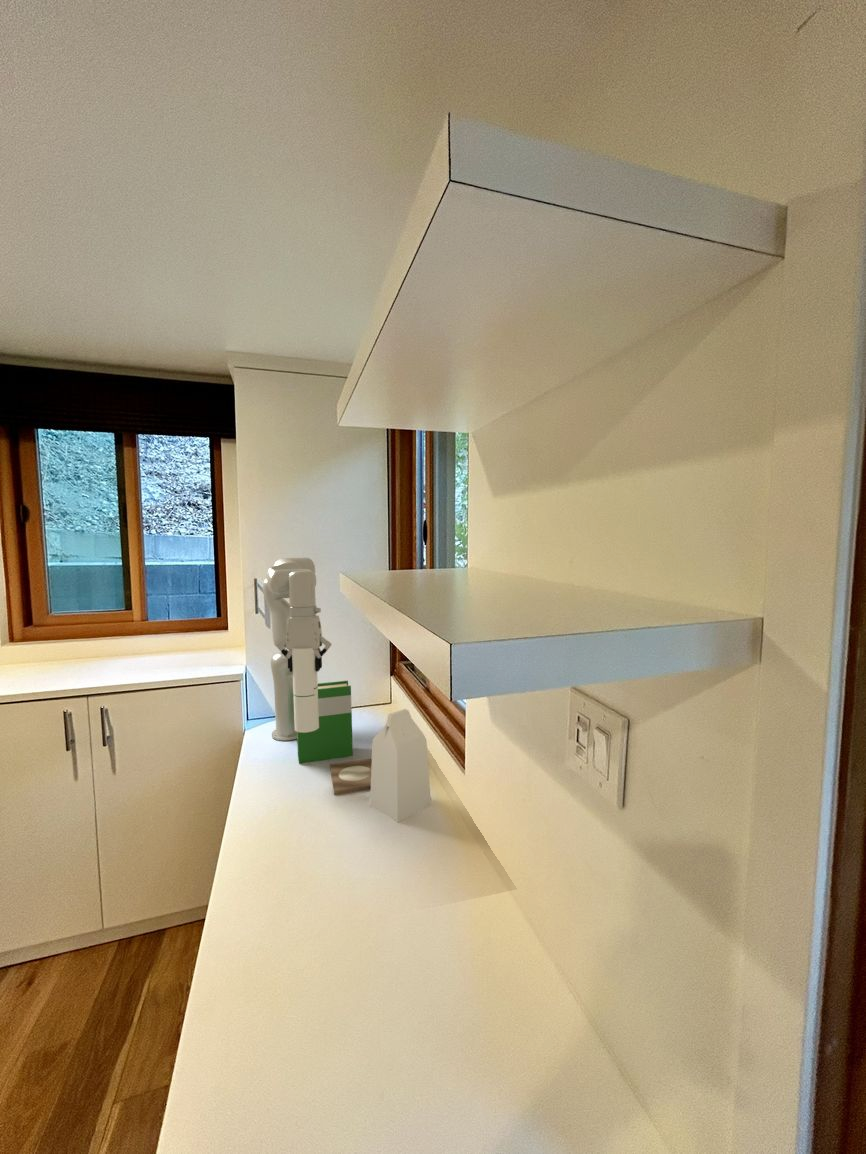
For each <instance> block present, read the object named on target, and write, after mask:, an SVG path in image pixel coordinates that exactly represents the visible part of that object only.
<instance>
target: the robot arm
mask: <svg viewBox="0 0 866 1154" xmlns="http://www.w3.org/2000/svg"><path fill="white" fill-rule="evenodd" d="M316 587H317V575H316V566H315V563H314V561H313V559H311V558H309V557H304V556H303V557H283V558H280V559H277V561H275V562H274V564H273V566H271V567H270V568H268V570H267V573H266V578H265V579H264V580H263V583H262V593H263V597H264V599H265V602H266V604H267V607H268V608H269V611H270V616H271V619H270V620H271V632H272V640H273V645H274V646H275V647H276V648H277V649H278V650H279V651H280V652H278V653H274V654H273V655H272V657H271V659H270V668H271V674H272V680H273V691H274V694H273V695H274V712H275V713H274V716H275V717H274V718H275V729H274V730H273V731H272V732H271V738H272V739H273V740H276V741H287V742H288V741H293V740H297V731H295V722H294V694H293V667H292V648H312V649H313V650H314V653H315V654H316V659H315V665H316V672H317V673H318V672H320V670H321V669H322V667H323V660H322V657H323V656H324V655H325V654H326V653H327V651H328V650H329V649H330V648H331V647H332V643H331V642H330V641H329V640H328V639H326V638H325V637H324V636H323V632H322V631H323V630H322V625H321V619H320V616H319V615H317V614H318V613H321V611H322V609H321V608H320V607H317V603H316ZM286 599H289V602H288V601H287V600H286ZM323 645H324V648H323V649H321V647H323Z"/></svg>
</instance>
